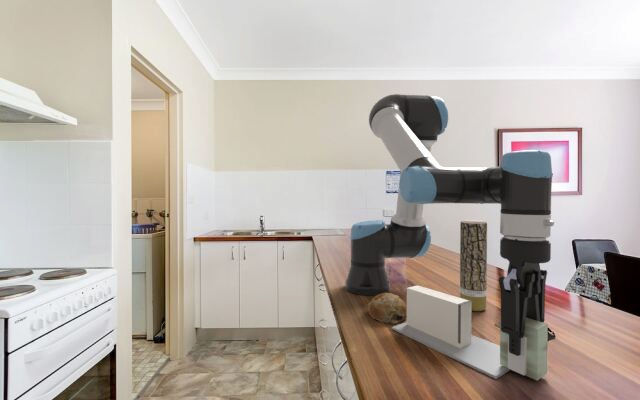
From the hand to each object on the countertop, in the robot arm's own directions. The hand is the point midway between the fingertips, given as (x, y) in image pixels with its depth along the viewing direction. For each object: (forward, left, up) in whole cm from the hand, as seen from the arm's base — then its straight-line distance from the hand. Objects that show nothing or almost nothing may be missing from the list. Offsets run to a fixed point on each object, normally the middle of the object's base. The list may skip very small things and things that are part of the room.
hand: (523, 366), depth 55 cm
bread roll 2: (-8, +20, -2) cm, 21 cm away
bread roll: (-32, -1, -2) cm, 32 cm away
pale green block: (0, 0, 0) cm, 0 cm away
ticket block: (-15, 0, -1) cm, 15 cm away
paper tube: (-23, +24, -1) cm, 33 cm away
